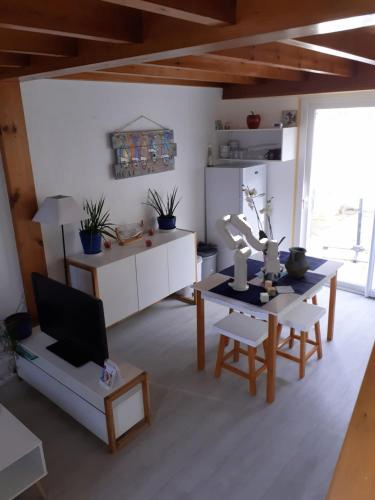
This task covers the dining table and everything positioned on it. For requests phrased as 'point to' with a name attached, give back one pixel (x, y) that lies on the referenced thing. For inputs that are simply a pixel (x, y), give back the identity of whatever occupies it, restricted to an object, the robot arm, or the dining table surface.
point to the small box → (271, 277)
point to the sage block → (264, 297)
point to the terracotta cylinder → (268, 284)
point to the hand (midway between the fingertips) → (272, 278)
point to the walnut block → (271, 291)
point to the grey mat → (284, 289)
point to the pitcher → (297, 262)
